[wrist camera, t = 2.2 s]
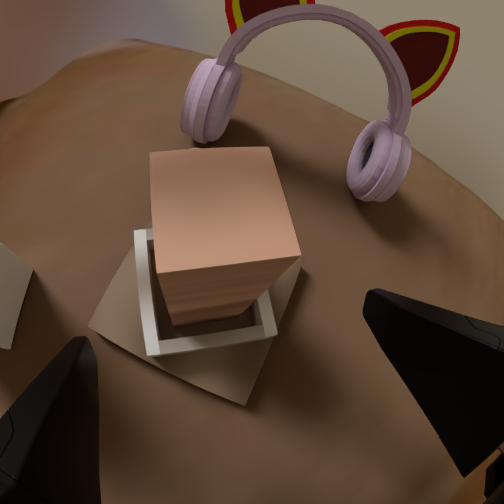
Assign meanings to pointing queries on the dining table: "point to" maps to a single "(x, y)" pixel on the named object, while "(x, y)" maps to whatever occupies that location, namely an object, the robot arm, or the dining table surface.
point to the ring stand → (190, 326)
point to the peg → (218, 230)
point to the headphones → (382, 45)
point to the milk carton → (11, 292)
